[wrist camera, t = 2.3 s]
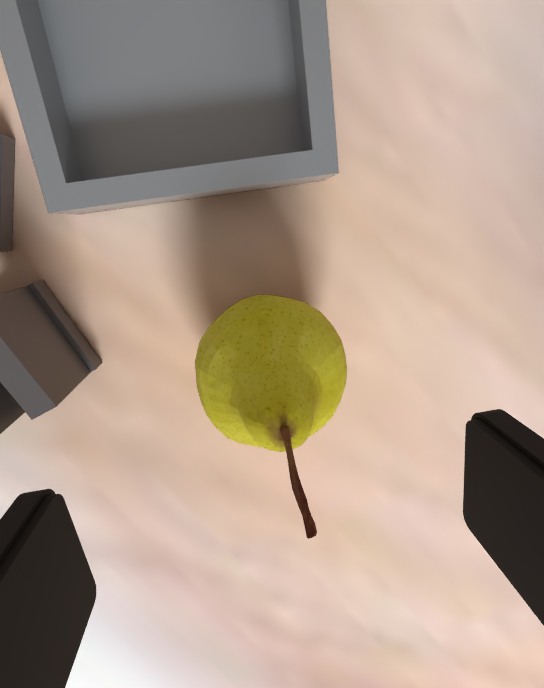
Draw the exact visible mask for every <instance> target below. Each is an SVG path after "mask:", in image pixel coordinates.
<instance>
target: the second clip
mask: <svg viewBox="0 0 544 688" xmlns="http://www.w3.org/2000/svg"><path fill="white" fill-rule="evenodd" d="M14 164H15V139H14V138H11V137H9V136H6V135H3V134H0V252H4V251H12V232H13V198H14Z"/></svg>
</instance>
